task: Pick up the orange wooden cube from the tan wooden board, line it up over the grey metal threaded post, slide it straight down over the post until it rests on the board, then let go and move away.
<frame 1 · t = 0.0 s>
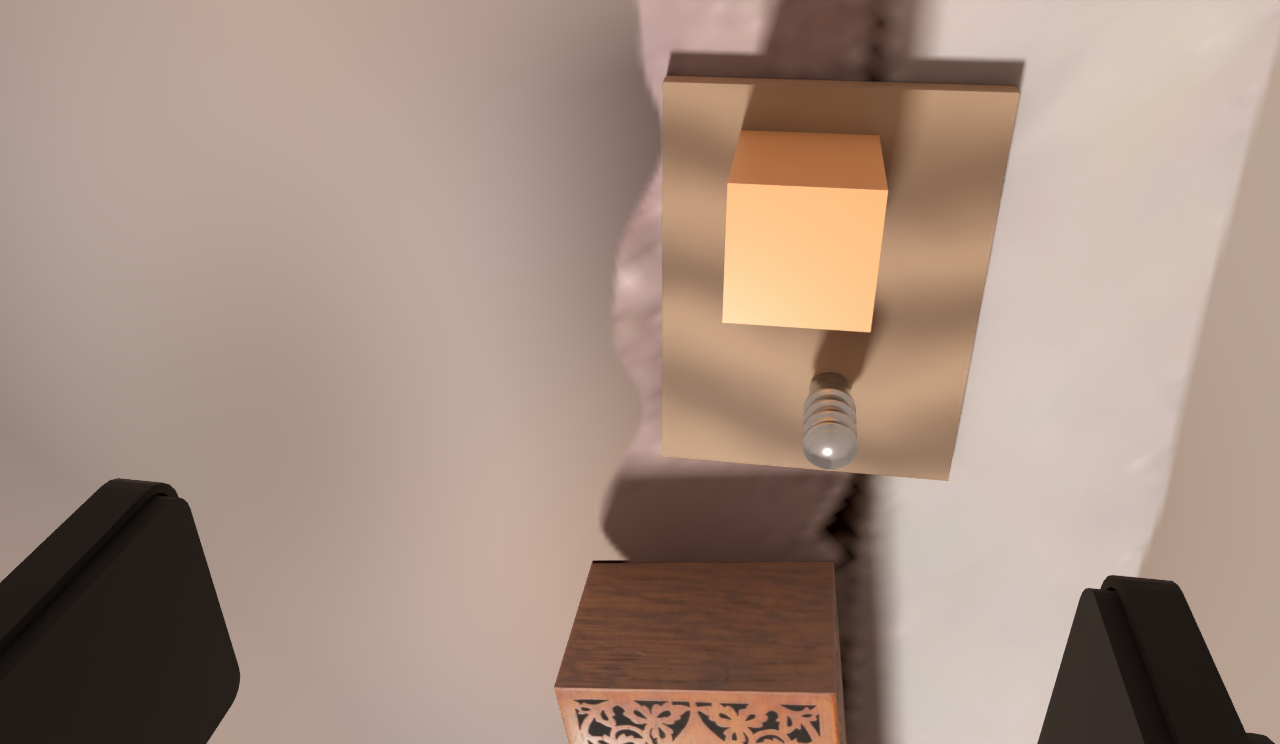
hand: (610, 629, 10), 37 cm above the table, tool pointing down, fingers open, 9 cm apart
tissue box cover: (732, 708, 64), on the table
threaded post: (829, 389, 49), resting on tan wooden board
tan wooden board: (817, 287, 48), on the table
orange wooden cube: (804, 197, 44), point 1 cm above the table, touching tan wooden board
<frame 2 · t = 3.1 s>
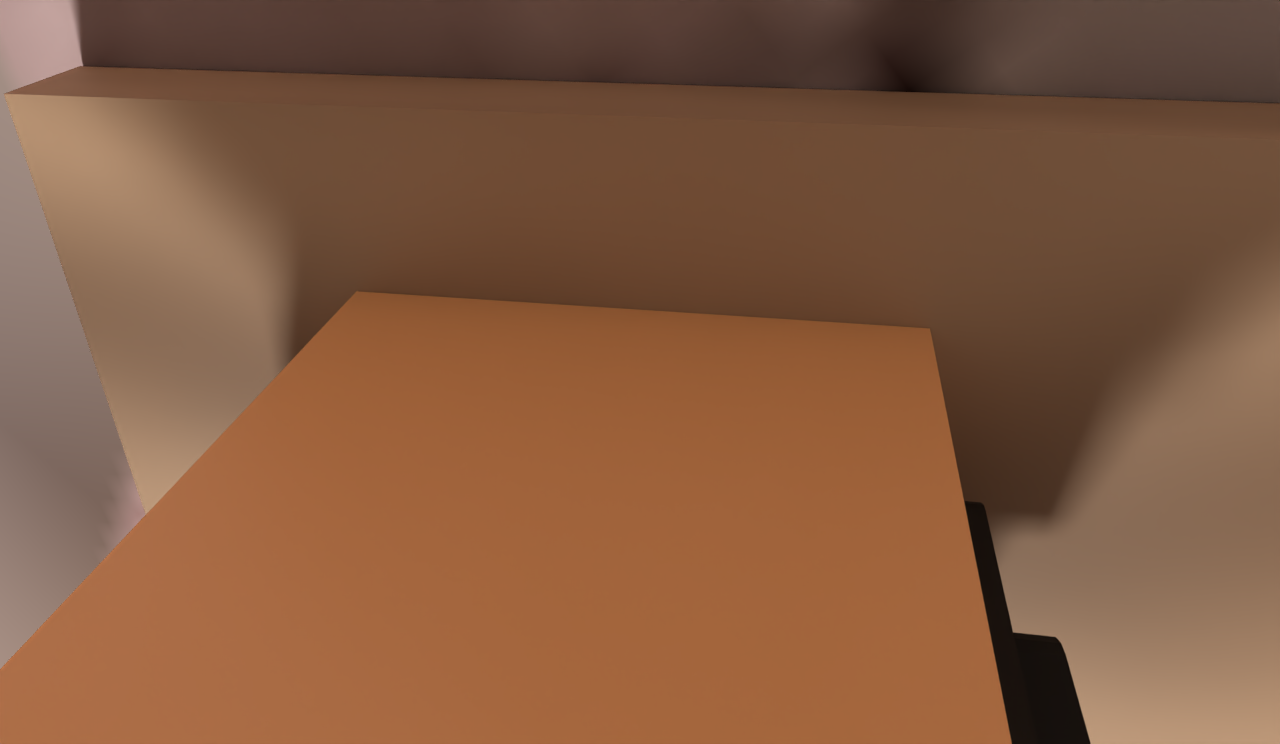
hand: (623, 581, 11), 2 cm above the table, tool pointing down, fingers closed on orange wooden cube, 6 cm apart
tan wooden board: (715, 743, 15), on the table
orange wooden cube: (634, 534, 12), point 1 cm above the table, touching gripper, tan wooden board
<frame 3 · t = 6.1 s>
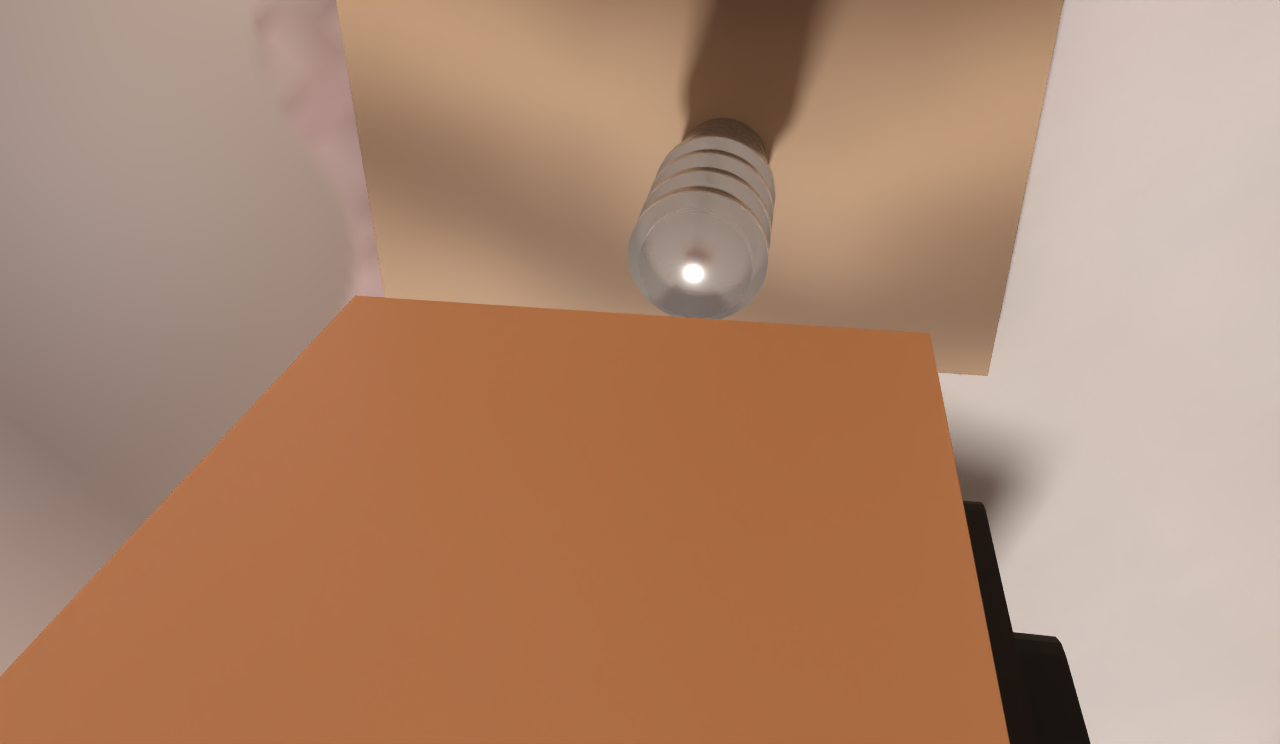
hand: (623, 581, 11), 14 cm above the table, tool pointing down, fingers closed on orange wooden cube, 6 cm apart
threaded post: (722, 162, 22), resting on tan wooden board
orange wooden cube: (634, 538, 12), point 13 cm above the table, touching gripper
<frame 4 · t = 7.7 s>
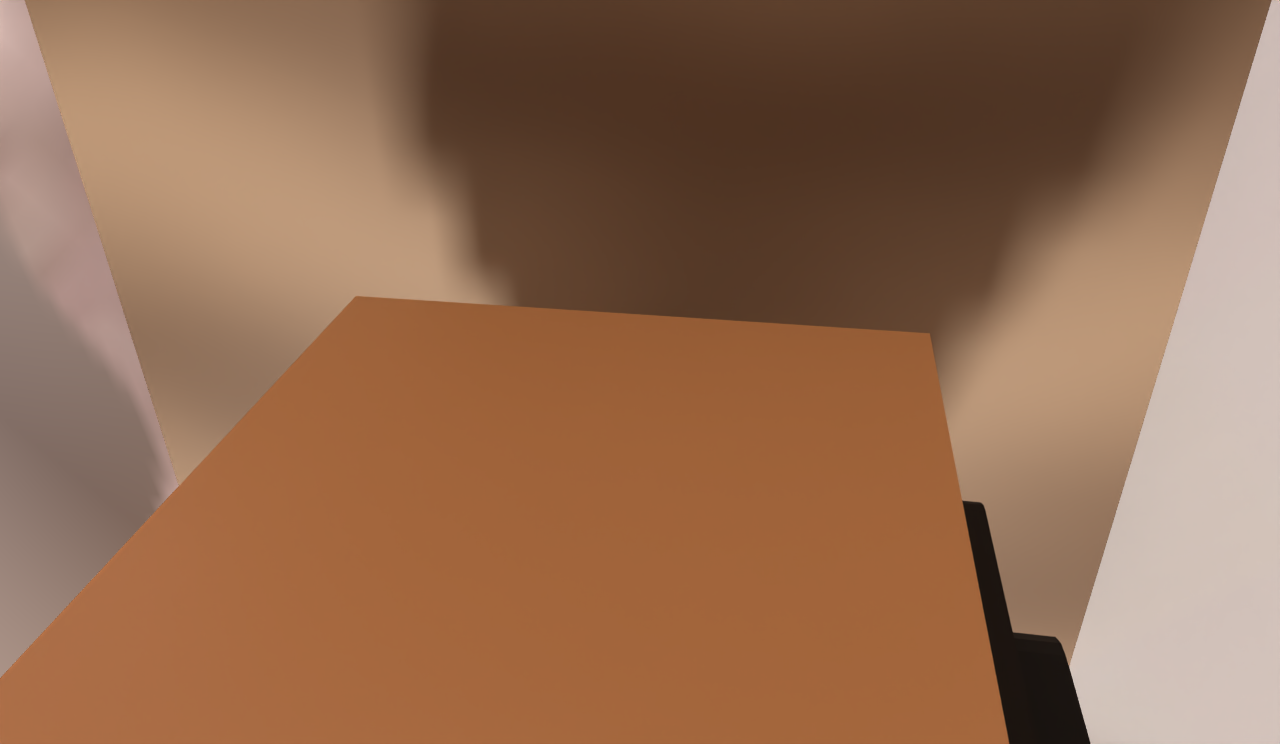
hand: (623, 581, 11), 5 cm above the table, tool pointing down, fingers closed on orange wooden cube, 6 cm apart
tan wooden board: (606, 4, 13), on the table
orange wooden cube: (634, 538, 12), point 4 cm above the table, touching gripper
when the fingers open (2 cm above the table, at t = 9.2 s): orange wooden cube stays where it is, resting on tan wooden board.
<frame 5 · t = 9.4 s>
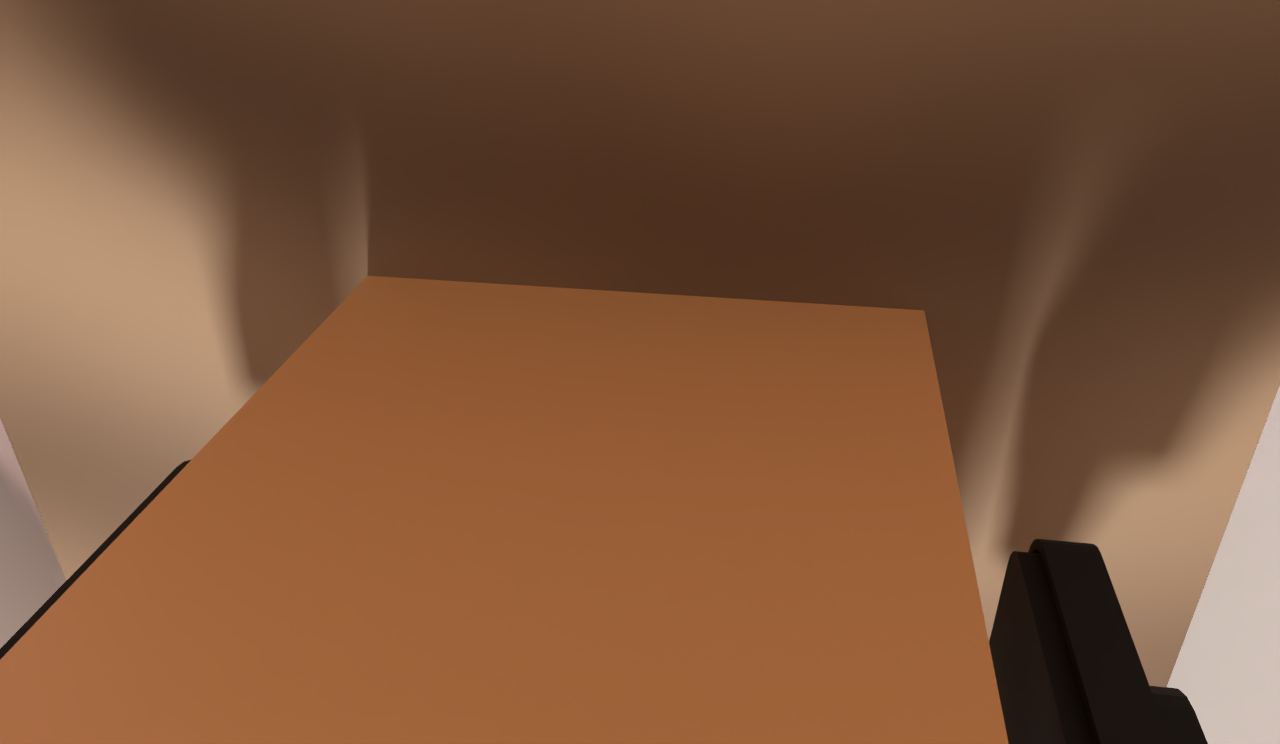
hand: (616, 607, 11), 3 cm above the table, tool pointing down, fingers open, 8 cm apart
tan wooden board: (561, 75, 11), on the table
orange wooden cube: (637, 514, 12), point 1 cm above the table, touching tan wooden board
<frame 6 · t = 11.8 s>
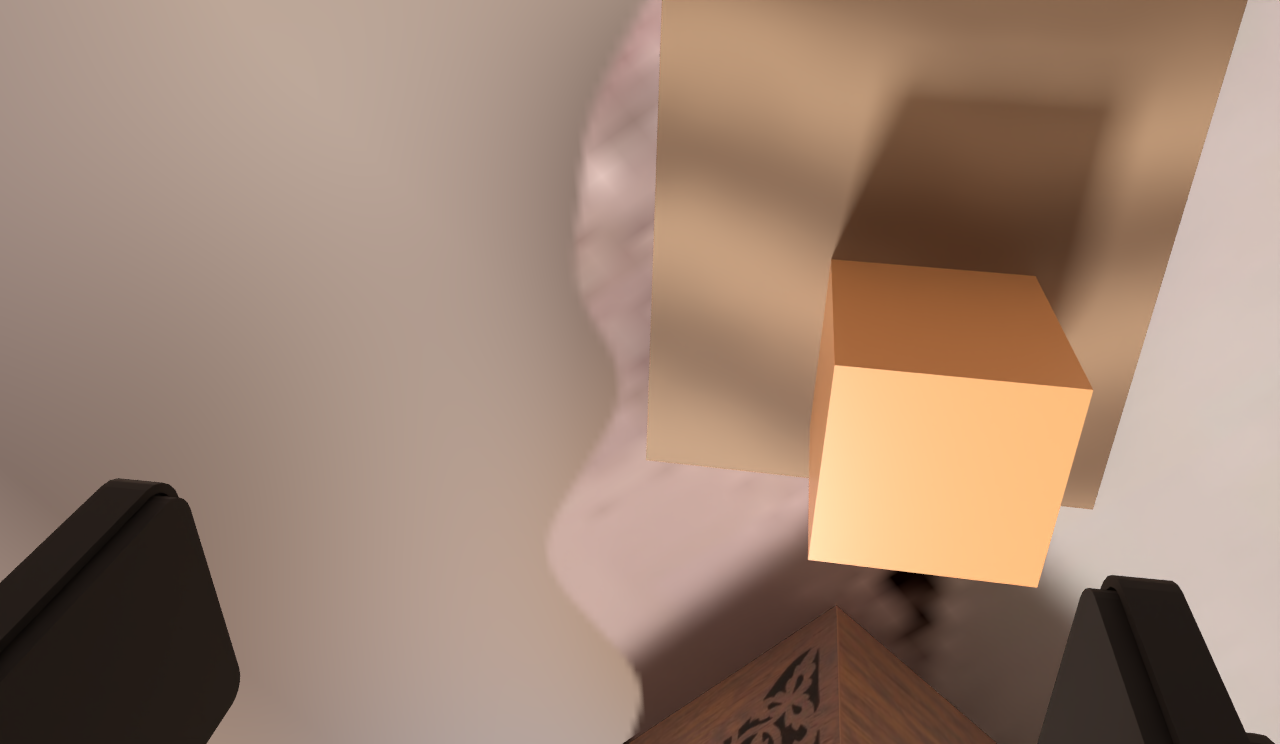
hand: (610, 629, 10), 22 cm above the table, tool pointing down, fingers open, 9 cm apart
tan wooden board: (905, 190, 30), on the table
orange wooden cube: (915, 355, 31), point 1 cm above the table, touching tan wooden board
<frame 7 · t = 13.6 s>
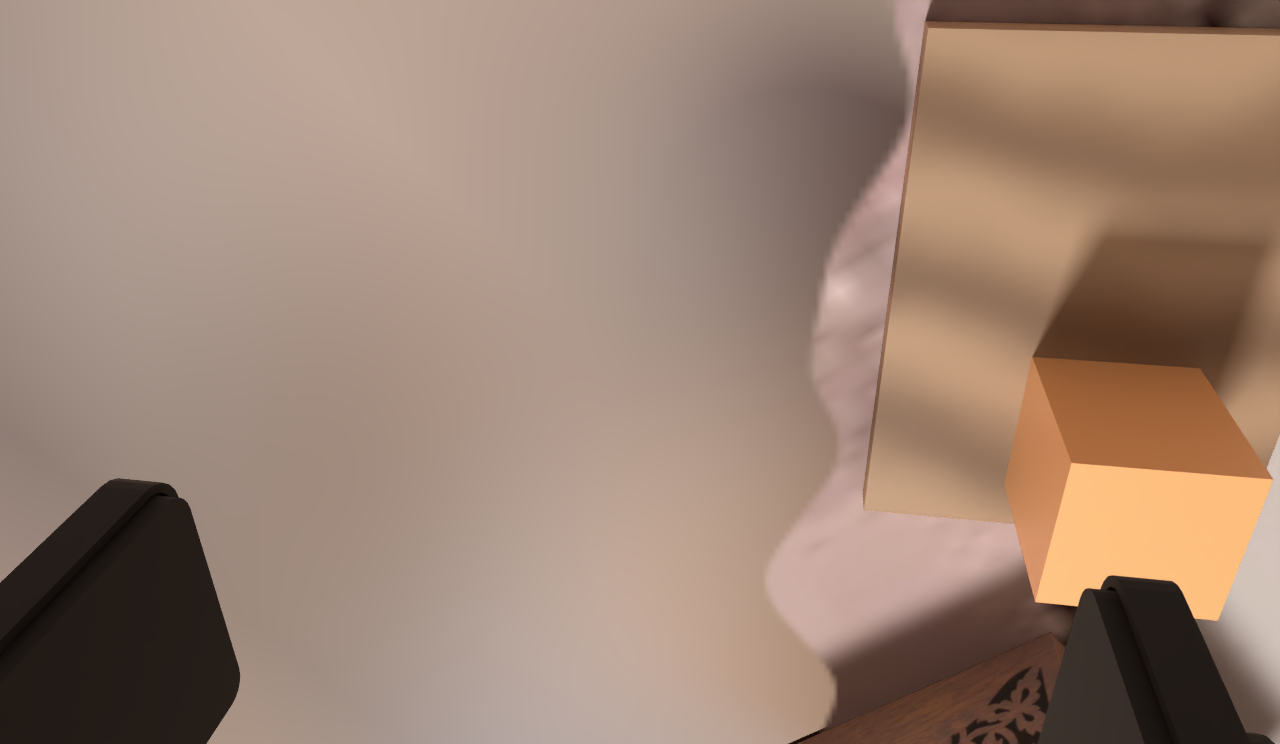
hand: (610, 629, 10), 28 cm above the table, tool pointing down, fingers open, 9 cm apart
tan wooden board: (1092, 300, 37), on the table
orange wooden cube: (1097, 428, 38), point 1 cm above the table, touching tan wooden board
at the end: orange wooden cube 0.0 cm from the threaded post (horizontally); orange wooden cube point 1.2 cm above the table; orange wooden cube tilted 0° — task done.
